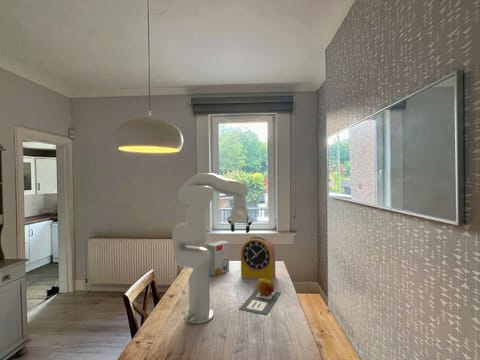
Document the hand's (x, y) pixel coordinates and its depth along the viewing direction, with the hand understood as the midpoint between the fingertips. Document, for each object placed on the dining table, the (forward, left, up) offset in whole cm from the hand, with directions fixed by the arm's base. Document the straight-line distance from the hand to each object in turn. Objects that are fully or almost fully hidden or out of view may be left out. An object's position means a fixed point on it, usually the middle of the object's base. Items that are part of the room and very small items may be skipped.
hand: (240, 232), depth 159 cm
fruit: (-12, -20, -30) cm, 38 cm away
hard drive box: (+10, +21, -31) cm, 39 cm away
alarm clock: (+13, -7, -31) cm, 34 cm away
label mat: (-19, -20, -31) cm, 41 cm away
